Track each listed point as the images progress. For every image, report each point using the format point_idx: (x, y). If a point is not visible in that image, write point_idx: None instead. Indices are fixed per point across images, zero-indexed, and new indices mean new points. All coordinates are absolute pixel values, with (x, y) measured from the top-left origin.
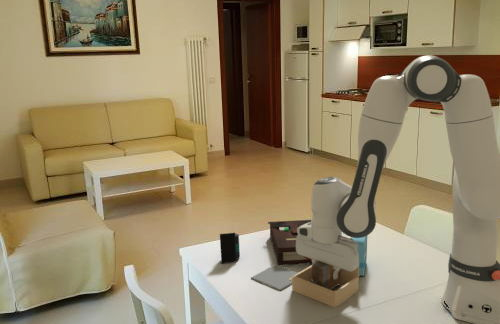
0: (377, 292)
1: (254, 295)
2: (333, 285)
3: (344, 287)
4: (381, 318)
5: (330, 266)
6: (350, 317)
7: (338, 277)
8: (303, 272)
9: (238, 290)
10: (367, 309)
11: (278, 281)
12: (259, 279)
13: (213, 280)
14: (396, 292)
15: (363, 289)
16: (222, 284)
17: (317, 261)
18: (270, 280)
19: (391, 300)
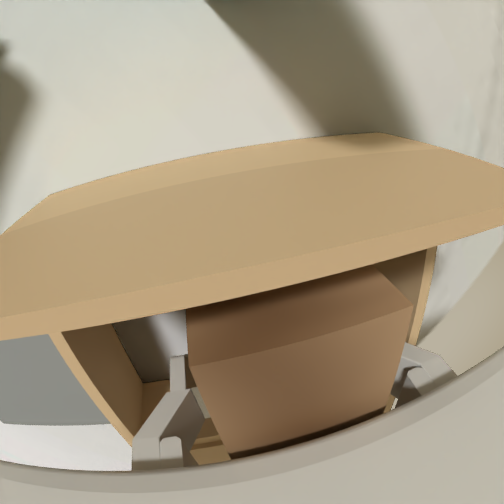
0: (442, 82)
1: (114, 460)
2: None
3: (419, 318)
4: (494, 248)
5: None
6: (429, 323)
7: None
8: (104, 392)
9: (69, 464)
10: (460, 243)
11: (53, 396)
12: (22, 420)
13: (4, 459)
14: (478, 37)
15: (388, 98)
16: (27, 463)
17: (170, 437)
18: (37, 407)
19: (493, 114)
